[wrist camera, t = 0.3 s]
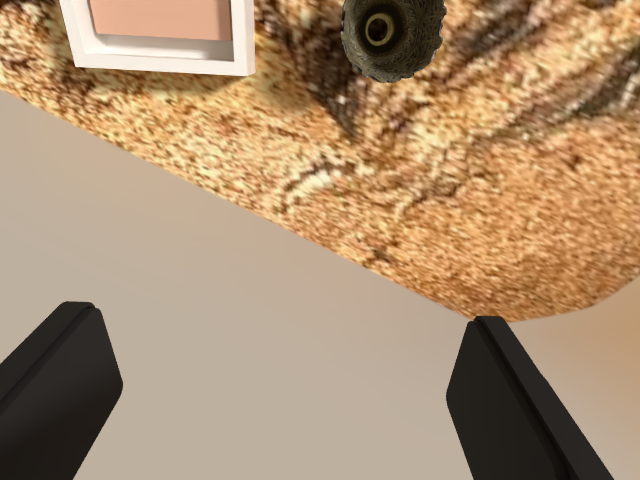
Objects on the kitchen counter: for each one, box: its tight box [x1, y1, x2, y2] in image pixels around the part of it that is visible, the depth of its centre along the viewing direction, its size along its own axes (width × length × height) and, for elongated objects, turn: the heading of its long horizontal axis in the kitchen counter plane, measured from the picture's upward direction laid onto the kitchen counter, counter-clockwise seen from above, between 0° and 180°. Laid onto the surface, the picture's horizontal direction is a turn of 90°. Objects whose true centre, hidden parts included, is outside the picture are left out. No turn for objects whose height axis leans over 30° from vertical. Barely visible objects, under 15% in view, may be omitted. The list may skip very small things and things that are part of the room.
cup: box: [340, 0, 447, 83], centre depth 29 cm, size 8×7×8 cm
